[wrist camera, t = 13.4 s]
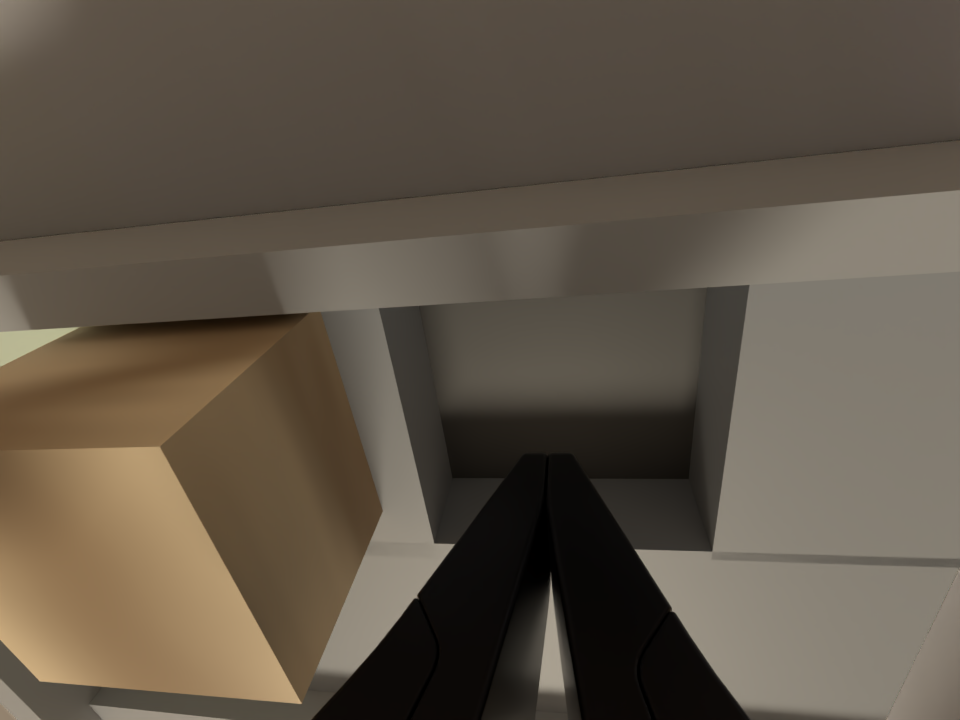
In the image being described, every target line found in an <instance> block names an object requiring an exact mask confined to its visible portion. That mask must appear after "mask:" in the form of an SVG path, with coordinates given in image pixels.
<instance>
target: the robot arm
mask: <svg viewBox="0 0 960 720" xmlns="http://www.w3.org/2000/svg"><path fill="white" fill-rule="evenodd" d="M551 582H552V593H553V603H554V611H555V619H556V627H557V635H558V643H559V651H560V659H561V667H562V674H563V682H564V690H565V698H566V706H567V714H568V720H751V719H750V718H749V716H748V715H747V714H746V712H745V711H744V710H743V708H742V707H741V706H740V704H739V703H738V702H737V701H736V699H735V698H734V697H733V695H732V694H731V693H730V691H729V690H728V689H727V687H726V686H725V685H724V684H723V682H722V681H721V680H720V678H719V677H718V676H717V674H716V673H715V671H714V670H713V668H712V667H711V665H710V664H709V663H708V661H707V660H706V658H705V657H704V655H703V654H702V652H701V651H700V649H699V648H698V646H697V645H696V644H695V642H694V641H693V639H692V638H691V636H690V635H689V633H688V631H687V630H686V628H685V627H684V625H683V624H682V622H681V621H680V619H679V617H678V616H677V614H676V613H675V612H672V607H671V605H670V604H669V602H668V601H667V599H666V598H665V596H664V594H663V593H662V591H661V590H660V588H659V587H658V585H657V584H656V582H655V580H654V579H653V577H652V576H651V574H650V573H649V571H648V569H647V568H646V566H645V565H644V563H643V562H642V560H641V559H640V557H639V555H638V554H637V552H636V551H635V549H634V548H633V546H632V545H631V543H630V541H629V540H628V538H627V537H626V535H625V534H624V532H623V530H622V529H621V527H620V526H619V524H618V523H617V521H616V520H615V518H614V516H613V515H612V513H611V512H610V510H609V509H608V507H607V505H606V504H605V502H604V501H603V499H602V498H601V496H600V495H599V493H598V491H597V490H596V488H595V487H594V485H593V484H592V482H591V481H590V479H589V477H588V476H587V474H586V473H585V471H584V470H583V468H582V466H581V465H580V463H579V462H578V460H577V459H576V457H575V456H574V455H573V454H572V453H550V454H549V455H548V456H547V454H546V453H524V454H522V456H521V457H520V458H519V460H518V461H517V462H516V464H515V465H514V466H513V468H512V469H511V470H510V472H509V473H508V474H507V476H506V477H505V478H504V480H503V481H502V482H501V484H500V485H499V486H498V488H497V489H496V490H495V492H494V493H493V494H492V496H491V497H490V498H489V500H488V501H487V502H486V504H485V505H484V506H483V508H482V509H481V510H480V512H479V513H478V514H477V516H476V517H475V518H474V520H473V521H472V522H471V524H470V525H469V526H468V528H467V529H466V530H465V532H464V533H463V534H462V536H461V537H460V538H459V540H458V541H457V542H456V544H455V545H454V546H453V548H452V549H451V550H450V552H449V553H448V554H447V556H446V557H445V558H444V559H443V561H442V562H441V563H440V565H439V566H438V567H437V569H436V570H435V571H434V573H433V574H432V575H431V577H430V578H429V579H428V581H427V582H426V583H425V585H424V586H423V587H422V589H421V590H420V591H419V593H418V594H417V598H418V599H417V598H414V599H413V600H412V602H411V603H410V604H409V606H408V607H407V608H406V610H405V611H404V612H403V614H402V615H401V617H400V618H399V619H398V620H397V622H396V623H395V624H394V625H393V627H392V628H391V629H390V630H389V632H388V633H387V634H386V635H385V637H384V638H383V639H382V640H381V642H380V643H379V644H378V646H377V647H376V648H375V649H374V650H373V652H372V653H371V654H370V655H369V656H368V657H367V658H366V659H365V661H364V662H363V663H362V664H361V665H360V666H359V667H358V668H357V670H356V671H355V672H354V673H353V674H352V675H351V676H350V677H349V679H348V680H347V681H346V682H345V683H344V684H343V685H342V686H341V687H340V689H339V690H338V691H337V692H336V693H335V694H334V695H333V696H332V697H331V698H330V699H329V700H328V702H327V703H326V704H325V705H324V706H323V707H322V708H321V709H320V710H319V711H318V712H317V713H316V714H315V716H314V717H313V718H312V719H311V720H535V714H536V706H537V698H538V690H539V681H540V673H541V665H542V657H543V648H544V640H545V632H546V624H547V616H548V607H549V598H550V587H551Z"/></svg>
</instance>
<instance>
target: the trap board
mask: <svg viewBox="0 0 960 720" xmlns="http://www.w3.org/2000/svg"><path fill="white" fill-rule="evenodd" d="M310 312H321V315H322V318H323V321H324V325H325V328H326V331H327V334H328V337H329V340H330V344H331V347H332V350H333V353H334V356H335V360H336V363H337V366H338V369H339V372H340V376H341V379H342V382H343V385H344V388H345V392H346V395H347V398H348V401H349V404H350V408H351V411H352V414H353V417H354V420H355V424H356V427H357V430H358V433H359V436H360V440H361V443H362V446H363V449H364V452H365V456H366V459H367V462H368V465H369V468H370V472H371V475H372V478H373V481H374V484H375V488H376V491H377V494H378V497H379V500H380V503H381V507H382V510H383V512H382V515H381V517H380V519H379V522H378V524H377V526H376V529H375V531H374V534H373V536H372V538H371V541H370V543H369V545H368V548H367V550H366V553H365V555H364V557H363V560H362V562H361V564H360V567H359V569H358V572H357V574H356V576H355V579H354V581H353V584H352V586H351V588H350V591H349V593H348V595H347V598H346V600H345V603H344V605H343V607H342V610H341V612H340V614H339V617H338V619H337V622H336V624H335V626H334V629H333V631H332V633H331V636H330V638H329V641H328V643H327V645H326V648H325V650H324V652H323V655H322V657H321V660H320V662H319V664H318V667H317V669H316V672H315V674H314V676H313V679H312V681H311V683H310V686H309V688H308V691H307V693H306V695H305V698H304V700H303V702H302V704H295V703H284V702H272V701H261V700H249V699H238V698H226V697H215V696H203V695H192V694H180V693H168V692H157V691H145V690H134V689H122V688H111V687H99V686H88V685H76V684H65V683H53V682H41V681H39V680H38V679H37V678H36V677H35V676H34V675H33V674H32V673H31V672H30V671H29V669H28V668H27V667H26V666H25V665H24V664H23V663H22V662H21V661H20V660H19V659H18V658H17V657H16V656H15V655H14V654H13V653H12V652H11V651H10V650H9V649H8V648H7V647H6V645H5V644H4V643H3V642H2V641H1V640H0V704H1V705H2V706H3V707H4V708H5V709H6V710H8V712H10V713H11V714H12V715H13V716H14V717H15V718H16V719H17V720H311V719H312V718H313V717H314V716H315V714H316V713H317V712H318V711H319V710H320V709H321V708H322V707H323V706H324V705H325V704H326V703H327V702H328V700H329V699H330V698H331V697H332V696H333V695H334V694H335V693H336V692H337V691H338V690H339V689H340V687H341V686H342V685H343V684H344V683H345V682H346V681H347V680H348V679H349V677H350V676H351V675H352V674H353V673H354V672H355V671H356V670H357V668H358V667H359V666H360V665H361V664H362V663H363V662H364V661H365V659H366V658H367V657H368V656H369V655H370V654H371V653H372V652H373V650H374V649H375V648H376V647H377V646H378V644H379V643H380V642H381V640H382V639H383V638H384V637H385V635H386V634H387V633H388V632H389V630H390V629H391V628H392V627H393V625H394V624H395V623H396V622H397V620H398V619H399V618H400V617H401V615H402V614H403V612H404V611H405V610H406V608H407V607H408V606H409V604H410V603H411V602H412V600H413V599H414V598H417V594H418V593H419V591H420V590H421V589H422V587H423V586H424V585H425V583H426V582H427V581H428V579H429V578H430V577H431V575H432V574H433V573H434V571H435V570H436V569H437V567H438V566H439V565H440V563H441V562H442V561H443V559H444V558H445V557H446V556H447V554H448V553H449V552H450V550H451V549H452V548H453V546H454V545H455V544H456V542H457V541H458V540H459V538H460V537H461V536H462V534H463V533H464V532H465V530H466V529H467V528H468V526H469V525H470V524H471V522H472V521H473V520H474V518H475V517H476V516H477V514H478V513H479V512H480V510H481V509H482V508H483V506H484V505H485V504H486V502H487V501H488V500H489V498H490V497H491V496H492V494H493V493H494V492H495V490H496V489H497V488H498V486H499V485H500V484H501V482H502V481H503V480H504V478H505V477H506V476H507V474H508V473H509V472H510V470H511V469H512V468H513V466H514V465H515V464H516V462H517V461H518V460H519V458H520V457H521V456H522V454H524V453H546V454H547V456H548V455H549V454H550V453H572V454H573V455H574V456H575V457H576V459H577V460H578V462H579V463H580V465H581V466H582V468H583V470H584V471H585V473H586V474H587V476H588V477H589V479H590V481H591V482H592V484H593V485H594V487H595V488H596V490H597V491H598V493H599V495H600V496H601V498H602V499H603V501H604V502H605V504H606V505H607V507H608V509H609V510H610V512H611V513H612V515H613V516H614V518H615V520H616V521H617V523H618V524H619V526H620V527H621V529H622V530H623V532H624V534H625V535H626V537H627V538H628V540H629V541H630V543H631V545H632V546H633V548H634V549H635V551H636V552H637V554H638V555H639V557H640V559H641V560H642V562H643V563H644V565H645V566H646V568H647V569H648V571H649V573H650V574H651V576H652V577H653V579H654V580H655V582H656V584H657V585H658V587H659V588H660V590H661V591H662V593H663V594H664V596H665V598H666V599H667V601H668V602H669V604H670V605H671V607H672V612H675V613H676V614H677V616H678V617H679V619H680V621H681V622H682V624H683V625H684V627H685V628H686V630H687V631H688V633H689V635H690V636H691V638H692V639H693V641H694V642H695V644H696V645H697V646H698V648H699V649H700V651H701V652H702V654H703V655H704V657H705V658H706V660H707V661H708V663H709V664H710V665H711V667H712V668H713V670H714V671H715V673H716V674H717V676H718V677H719V678H720V680H721V681H722V682H723V684H724V685H725V686H726V687H727V689H728V690H729V691H730V693H731V694H732V695H733V697H734V698H735V699H736V701H737V702H738V703H739V704H740V706H741V707H742V708H743V710H744V711H745V712H746V714H747V715H748V716H749V718H750V719H751V720H886V719H887V717H888V715H889V713H890V711H891V708H892V706H893V704H894V702H895V700H896V698H897V696H898V694H899V692H900V690H901V688H902V686H903V684H904V682H905V680H906V678H907V675H908V673H909V671H910V669H911V667H912V665H913V663H914V661H915V659H916V657H917V655H918V653H919V651H920V649H921V647H922V645H923V642H924V640H925V638H926V636H927V634H928V632H929V630H930V628H931V626H932V624H933V622H934V620H935V618H936V616H937V614H938V611H939V609H940V607H941V605H942V603H943V601H944V599H945V597H946V595H947V593H948V591H949V589H950V587H951V585H952V583H953V581H954V578H955V576H956V574H957V572H958V570H959V568H960V140H956V141H946V142H937V143H927V144H918V145H909V146H899V147H890V148H880V149H871V150H861V151H851V152H842V153H833V154H823V155H814V156H804V157H795V158H785V159H776V160H766V161H757V162H747V163H738V164H728V165H719V166H709V167H700V168H690V169H681V170H671V171H662V172H652V173H643V174H633V175H624V176H614V177H605V178H595V179H586V180H576V181H567V182H557V183H548V184H538V185H529V186H519V187H510V188H500V189H491V190H481V191H472V192H462V193H453V194H443V195H434V196H424V197H415V198H405V199H396V200H386V201H377V202H367V203H358V204H348V205H339V206H329V207H320V208H310V209H301V210H291V211H282V212H272V213H263V214H253V215H244V216H234V217H225V218H215V219H206V220H196V221H187V222H177V223H168V224H158V225H149V226H139V227H130V228H120V229H111V230H101V231H92V232H82V233H73V234H63V235H54V236H44V237H35V238H25V239H16V240H6V241H0V367H1V366H3V365H5V364H7V363H9V362H11V361H13V360H15V359H17V358H19V357H21V356H23V355H25V354H27V353H29V352H31V351H33V350H35V349H37V348H39V347H41V346H43V345H45V344H47V343H49V342H51V341H53V340H55V339H57V338H59V337H61V336H63V335H65V334H67V333H69V332H71V331H73V330H75V329H77V328H79V327H88V326H104V325H120V324H136V323H152V322H168V321H183V320H199V319H215V318H231V317H247V316H263V315H279V314H294V313H310ZM417 599H418V598H417ZM535 720H568V714H567V706H566V698H565V690H564V682H563V674H562V667H561V659H560V651H559V643H558V635H557V627H556V619H555V611H554V603H553V593H552V582H551V587H550V598H549V607H548V616H547V624H546V632H545V640H544V648H543V657H542V665H541V673H540V681H539V690H538V698H537V706H536V714H535Z"/></svg>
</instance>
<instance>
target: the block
mask: <svg viewBox="0 0 960 720" xmlns="http://www.w3.org/2000/svg"><path fill="white" fill-rule="evenodd" d="M382 512H383V510H382V507H381V503H380V500H379V497H378V494H377V491H376V488H375V484H374V481H373V478H372V475H371V472H370V468H369V465H368V462H367V459H366V456H365V452H364V449H363V446H362V443H361V440H360V436H359V433H358V430H357V427H356V424H355V420H354V417H353V414H352V411H351V408H350V404H349V401H348V398H347V395H346V392H345V388H344V385H343V382H342V379H341V376H340V372H339V369H338V366H337V363H336V360H335V356H334V353H333V350H332V347H331V344H330V340H329V337H328V334H327V331H326V328H325V325H324V321H323V318H322V315H321V312H310V313H294V314H279V315H263V316H247V317H231V318H215V319H199V320H183V321H168V322H152V323H136V324H120V325H104V326H88V327H79V328H77V329H75V330H73V331H71V332H69V333H67V334H65V335H63V336H61V337H59V338H57V339H55V340H53V341H51V342H49V343H47V344H45V345H43V346H41V347H39V348H37V349H35V350H33V351H31V352H29V353H27V354H25V355H23V356H21V357H19V358H17V359H15V360H13V361H11V362H9V363H7V364H5V365H3V366H1V367H0V640H1V641H2V642H3V643H4V644H5V645H6V647H7V648H8V649H9V650H10V651H11V652H12V653H13V654H14V655H15V656H16V657H17V658H18V659H19V660H20V661H21V662H22V663H23V664H24V665H25V666H26V667H27V668H28V669H29V671H30V672H31V673H32V674H33V675H34V676H35V677H36V678H37V679H38V680H39V681H41V682H53V683H65V684H76V685H88V686H99V687H111V688H122V689H134V690H145V691H157V692H168V693H180V694H192V695H203V696H215V697H226V698H238V699H249V700H261V701H272V702H284V703H295V704H302V702H303V700H304V698H305V695H306V693H307V691H308V688H309V686H310V683H311V681H312V679H313V676H314V674H315V672H316V669H317V667H318V664H319V662H320V660H321V657H322V655H323V652H324V650H325V648H326V645H327V643H328V641H329V638H330V636H331V633H332V631H333V629H334V626H335V624H336V622H337V619H338V617H339V614H340V612H341V610H342V607H343V605H344V603H345V600H346V598H347V595H348V593H349V591H350V588H351V586H352V584H353V581H354V579H355V576H356V574H357V572H358V569H359V567H360V564H361V562H362V560H363V557H364V555H365V553H366V550H367V548H368V545H369V543H370V541H371V538H372V536H373V534H374V531H375V529H376V526H377V524H378V522H379V519H380V517H381V515H382Z"/></svg>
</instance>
